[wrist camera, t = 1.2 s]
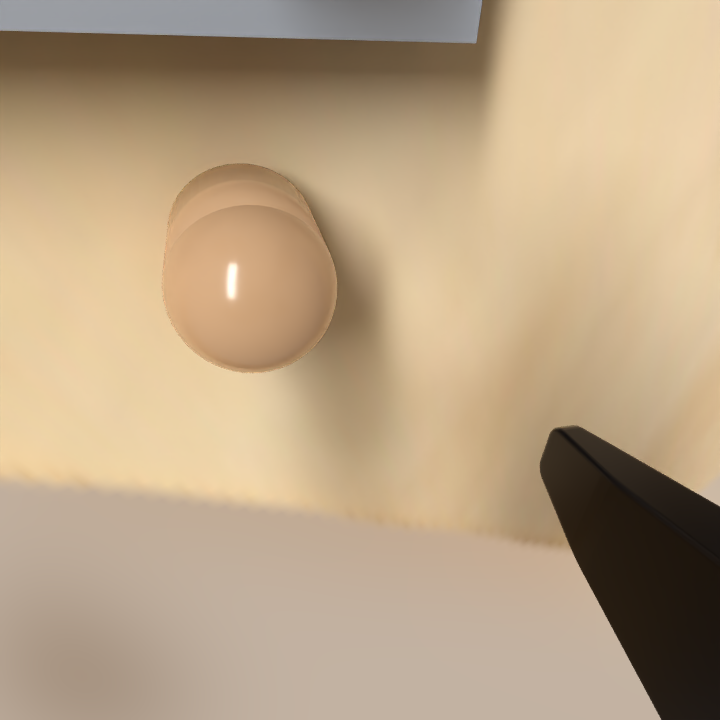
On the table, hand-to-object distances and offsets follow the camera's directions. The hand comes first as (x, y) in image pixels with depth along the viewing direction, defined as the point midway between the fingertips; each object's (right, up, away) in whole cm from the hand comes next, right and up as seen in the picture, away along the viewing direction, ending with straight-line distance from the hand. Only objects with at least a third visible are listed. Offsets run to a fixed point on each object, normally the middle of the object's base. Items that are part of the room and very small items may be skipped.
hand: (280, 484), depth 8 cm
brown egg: (-2, +6, +9) cm, 11 cm away
